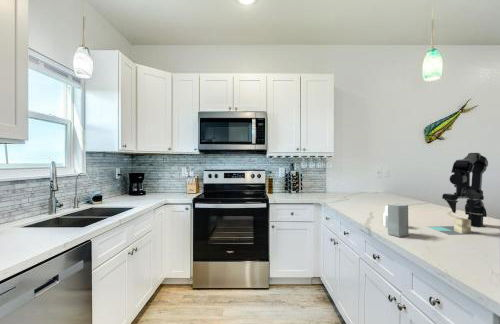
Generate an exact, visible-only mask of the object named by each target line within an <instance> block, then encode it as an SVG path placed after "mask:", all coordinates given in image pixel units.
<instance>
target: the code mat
mask: <svg viewBox="0 0 500 324" xmlns="http://www.w3.org/2000/svg"><path fill="white" fill-rule="evenodd" d="M428 228H429V229H432V230H435V231H437V232H440V233H444V234H446V235H448V236H465V235H467V236H469V235H473V236H474V235H481V233H479V232H476V231H473V230H471V233H459V232H456V231H454V225H443V226H441V225H440V226H439V225H438V226H437V225H436V226H428Z"/></svg>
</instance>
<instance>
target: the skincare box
mask: <svg viewBox="0 0 500 324" xmlns="http://www.w3.org/2000/svg"><path fill="white" fill-rule="evenodd" d="M387 206H388V228H387V234H388V235H390V236H394V237H397V238H401V237H405V236H409V204H401V203H392V204H391V203H389V204H387Z"/></svg>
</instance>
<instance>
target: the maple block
mask: <svg viewBox="0 0 500 324" xmlns="http://www.w3.org/2000/svg"><path fill="white" fill-rule="evenodd" d="M453 226H454V231H456V232H459V233H471V231H472V226H471V220H469V219H468V218H466V217H465V218H464V217H454V218H453Z"/></svg>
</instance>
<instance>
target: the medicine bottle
mask: <svg viewBox="0 0 500 324" xmlns="http://www.w3.org/2000/svg"><path fill="white" fill-rule="evenodd" d="M382 216H383V219H382V221H383V222H382V224H383V226H384V227H385V228H387V229H388V205H385V207H384V212H383V215H382Z"/></svg>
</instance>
